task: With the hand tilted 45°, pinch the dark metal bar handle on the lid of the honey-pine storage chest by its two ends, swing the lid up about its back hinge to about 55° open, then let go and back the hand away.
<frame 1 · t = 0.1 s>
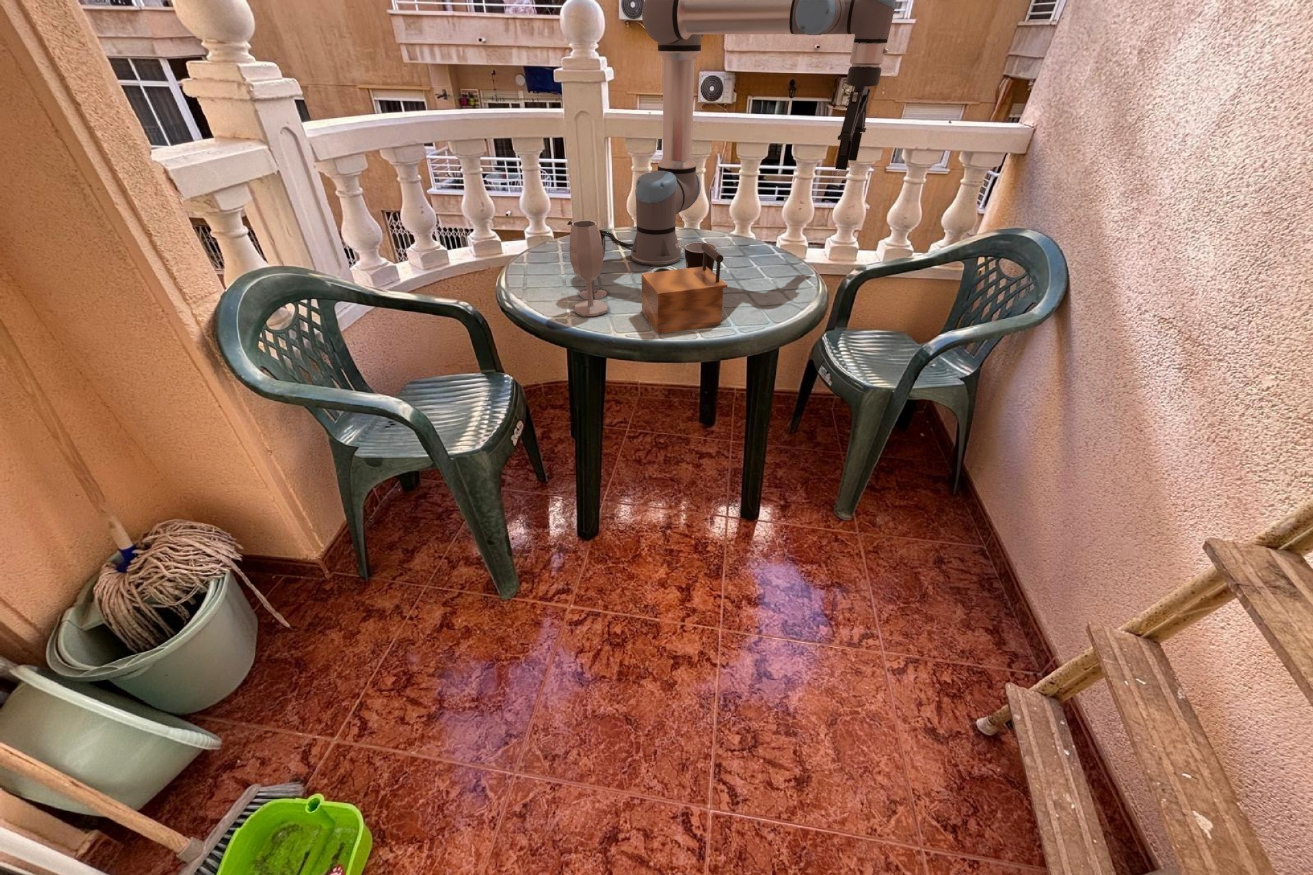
hand: (846, 164, 139), 28 cm above the table, tool pointing down, fingers open, 13 cm apart
coffee mug: (700, 282, 149), on the table
wine glass: (593, 294, 142), on the table
chest: (680, 318, 130), on the table
lid: (683, 267, 122), point 13 cm above the table, hinge at 0.0°
wineglass: (591, 310, 134), on the table
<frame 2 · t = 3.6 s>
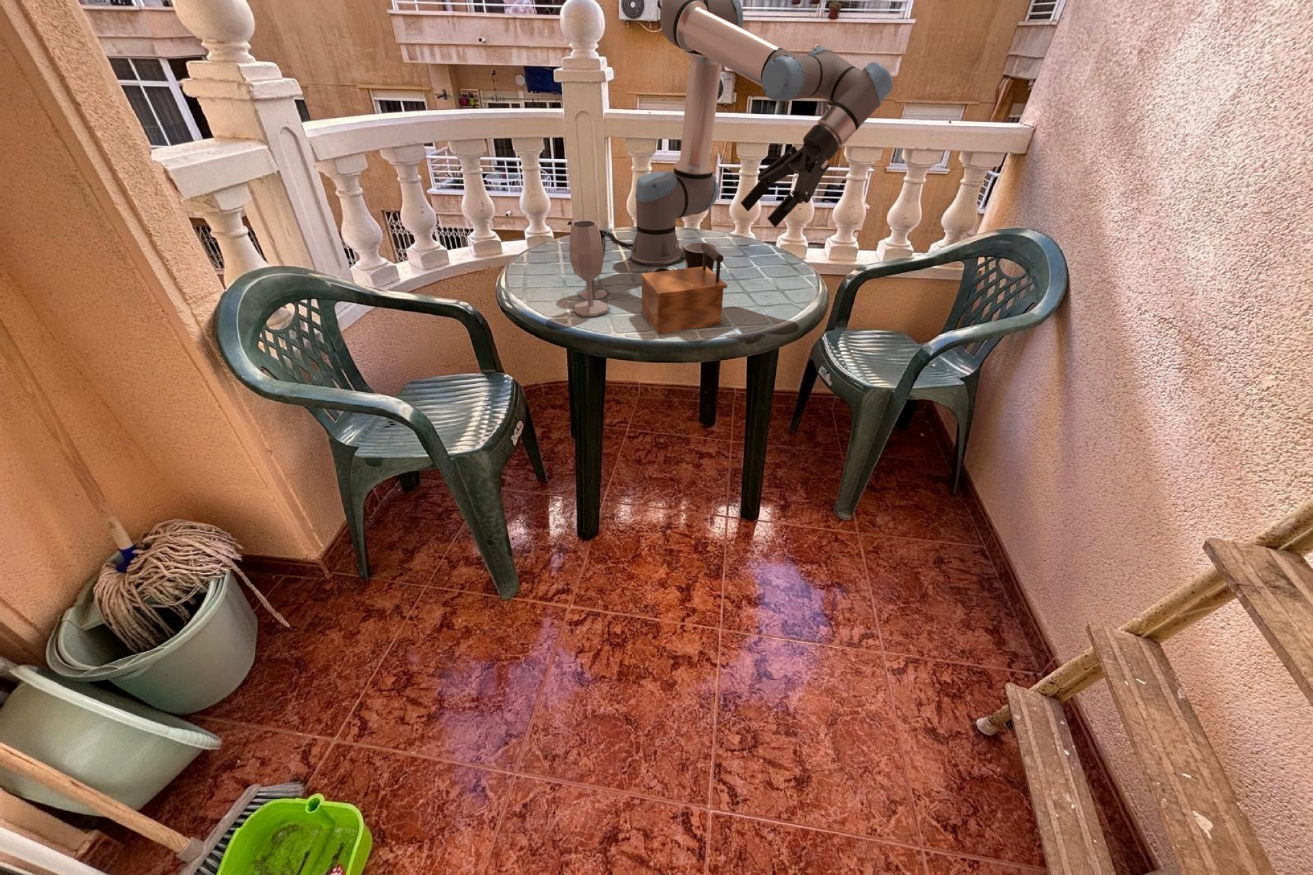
hand: (757, 215, 120), 23 cm above the table, tool tilted 45°, fingers open, 13 cm apart
nothing on the table moved.
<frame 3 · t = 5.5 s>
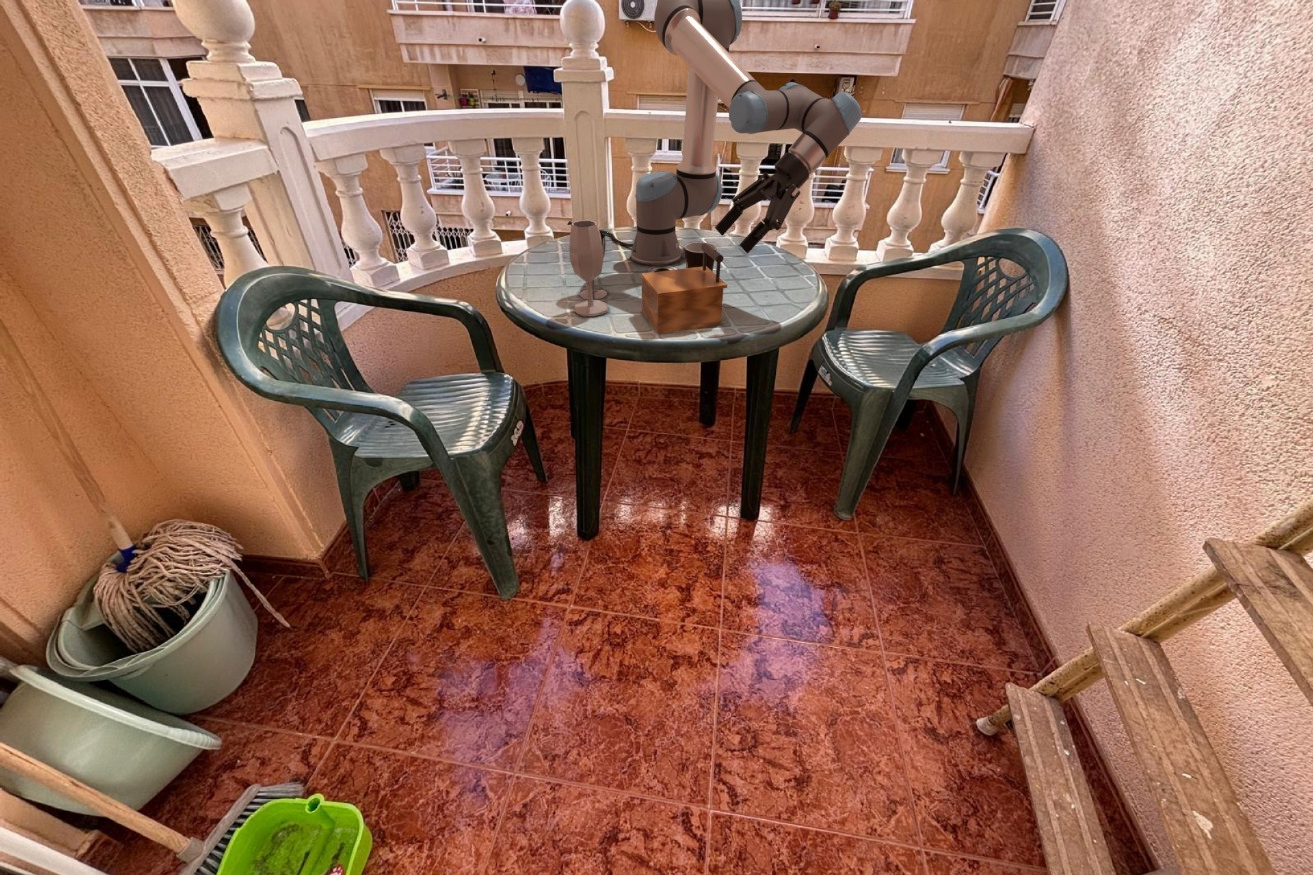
hand: (730, 240, 122), 18 cm above the table, tool tilted 45°, fingers open, 13 cm apart
nothing on the table moved.
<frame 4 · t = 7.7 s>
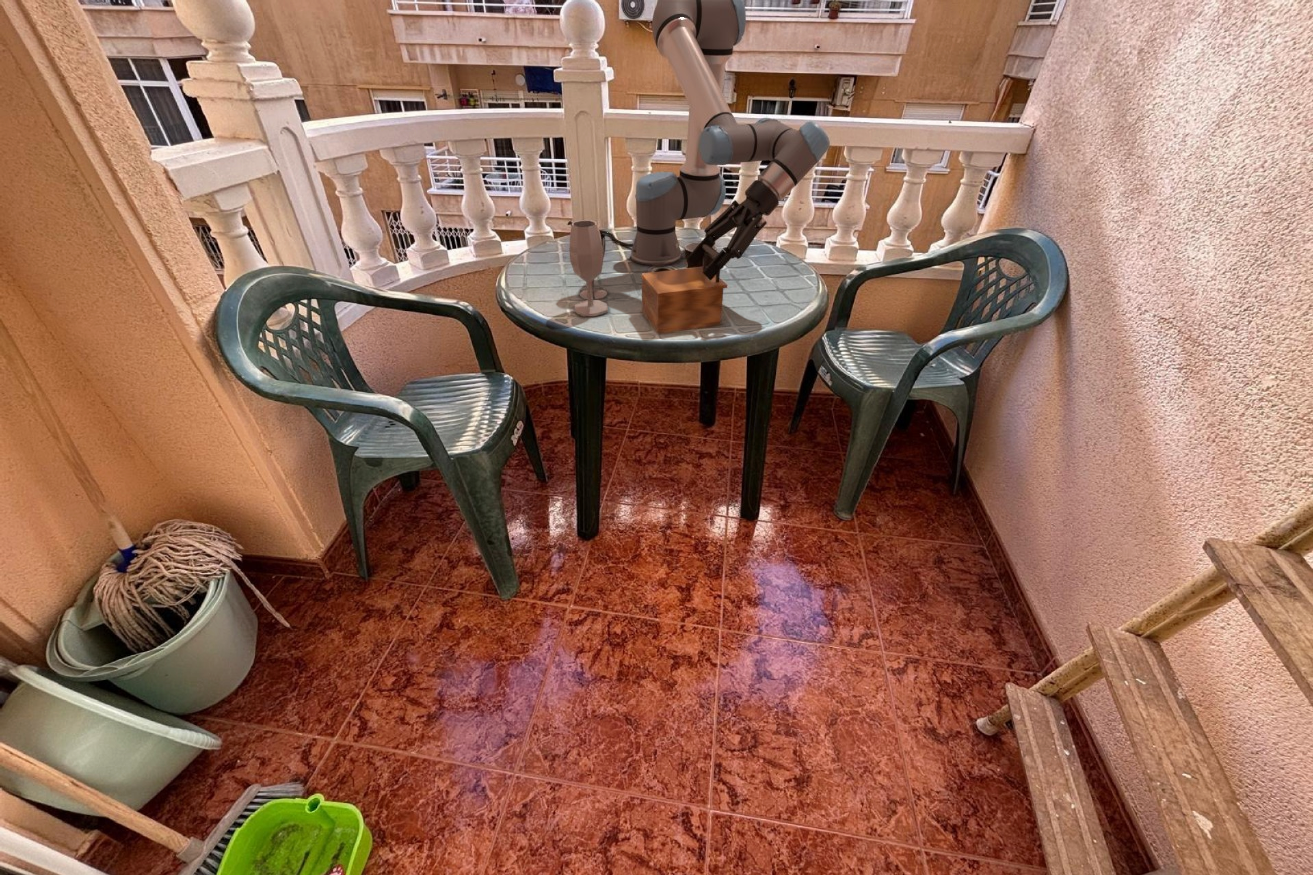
hand: (698, 269, 124), 12 cm above the table, tool tilted 45°, fingers closed on lid, 9 cm apart
lid: (683, 267, 122), point 13 cm above the table, hinge at 0.0°, touching gripper
everything else where it was.
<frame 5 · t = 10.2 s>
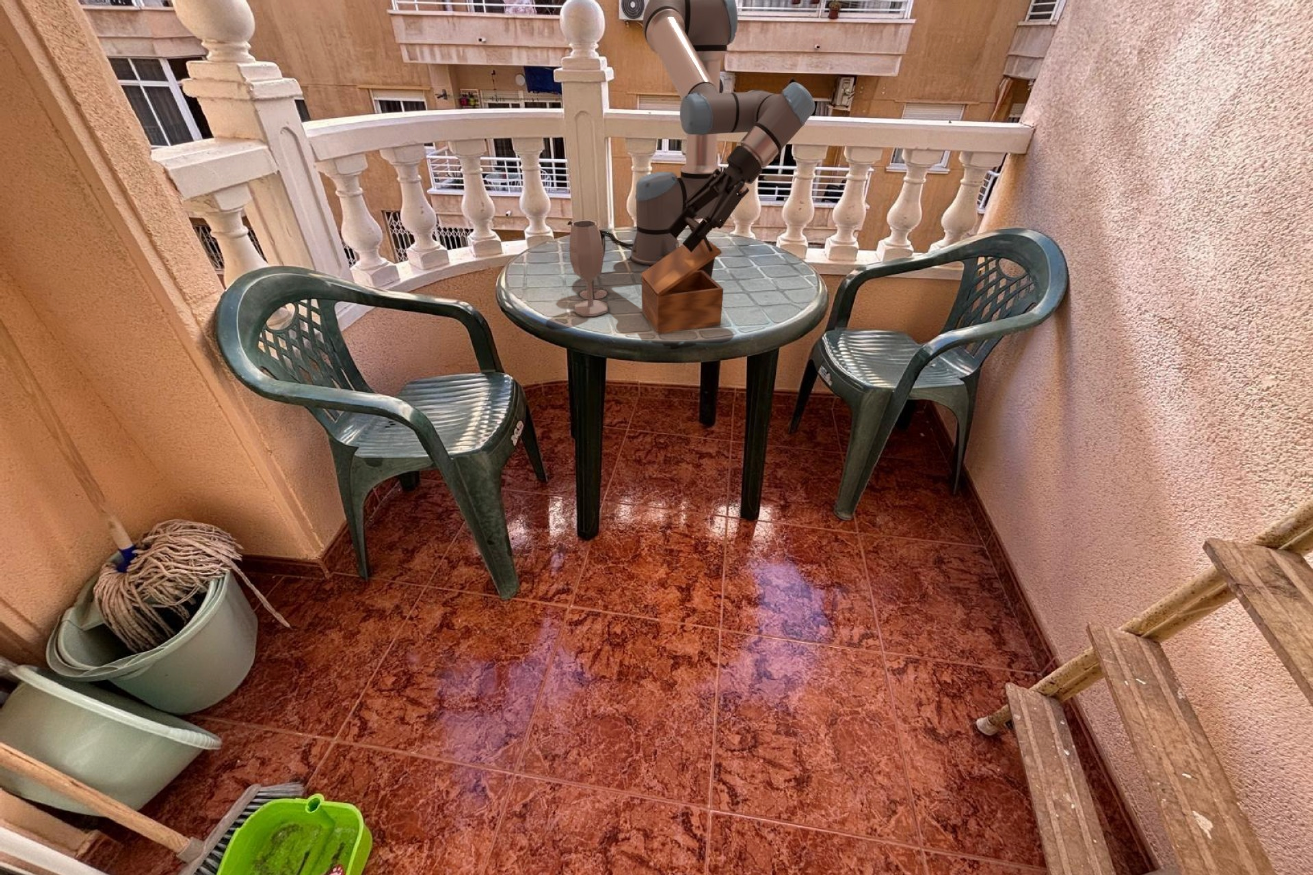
hand: (679, 241, 118), 19 cm above the table, tool tilted 45°, fingers closed on lid, 9 cm apart
lid: (673, 252, 119), point 16 cm above the table, hinge at 29.3°, touching gripper
everything else where it was.
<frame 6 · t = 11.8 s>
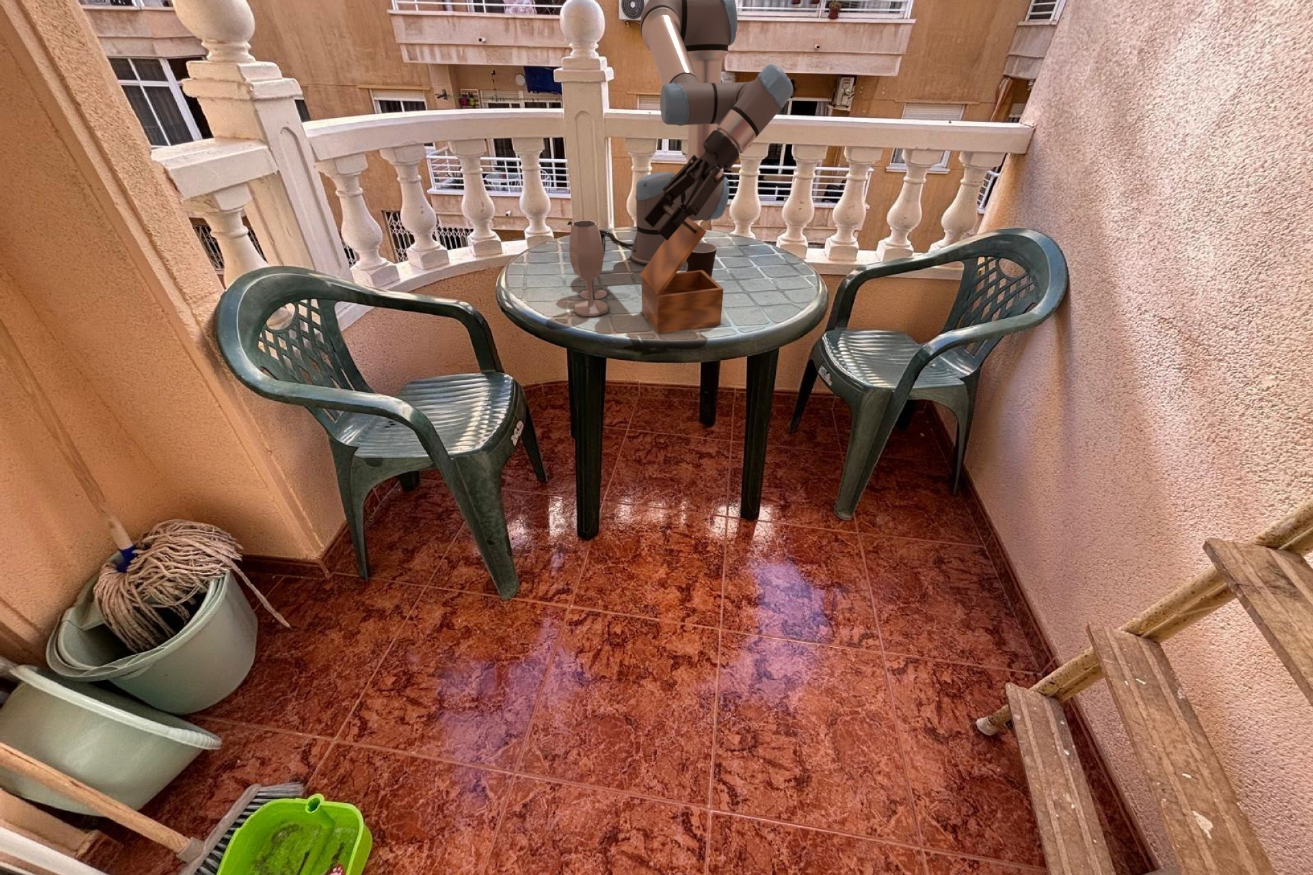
hand: (655, 229, 115), 22 cm above the table, tool tilted 45°, fingers closed on lid, 9 cm apart
lid: (661, 246, 118), point 18 cm above the table, hinge at 51.0°, touching gripper
everything else where it was.
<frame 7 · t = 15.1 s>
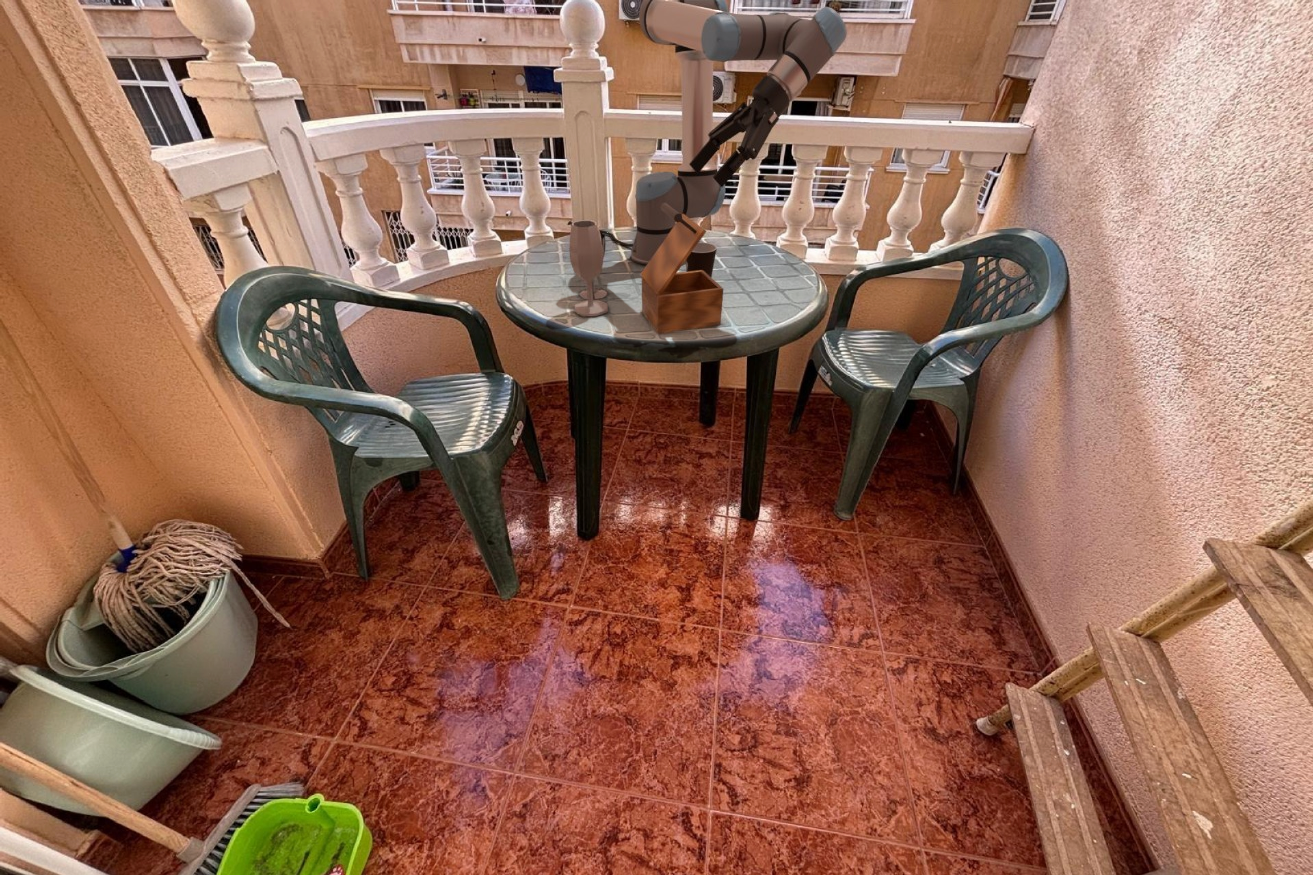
hand: (704, 175, 113), 31 cm above the table, tool tilted 45°, fingers open, 13 cm apart
lid: (661, 246, 118), point 18 cm above the table, hinge at 51.2°
everything else where it was.
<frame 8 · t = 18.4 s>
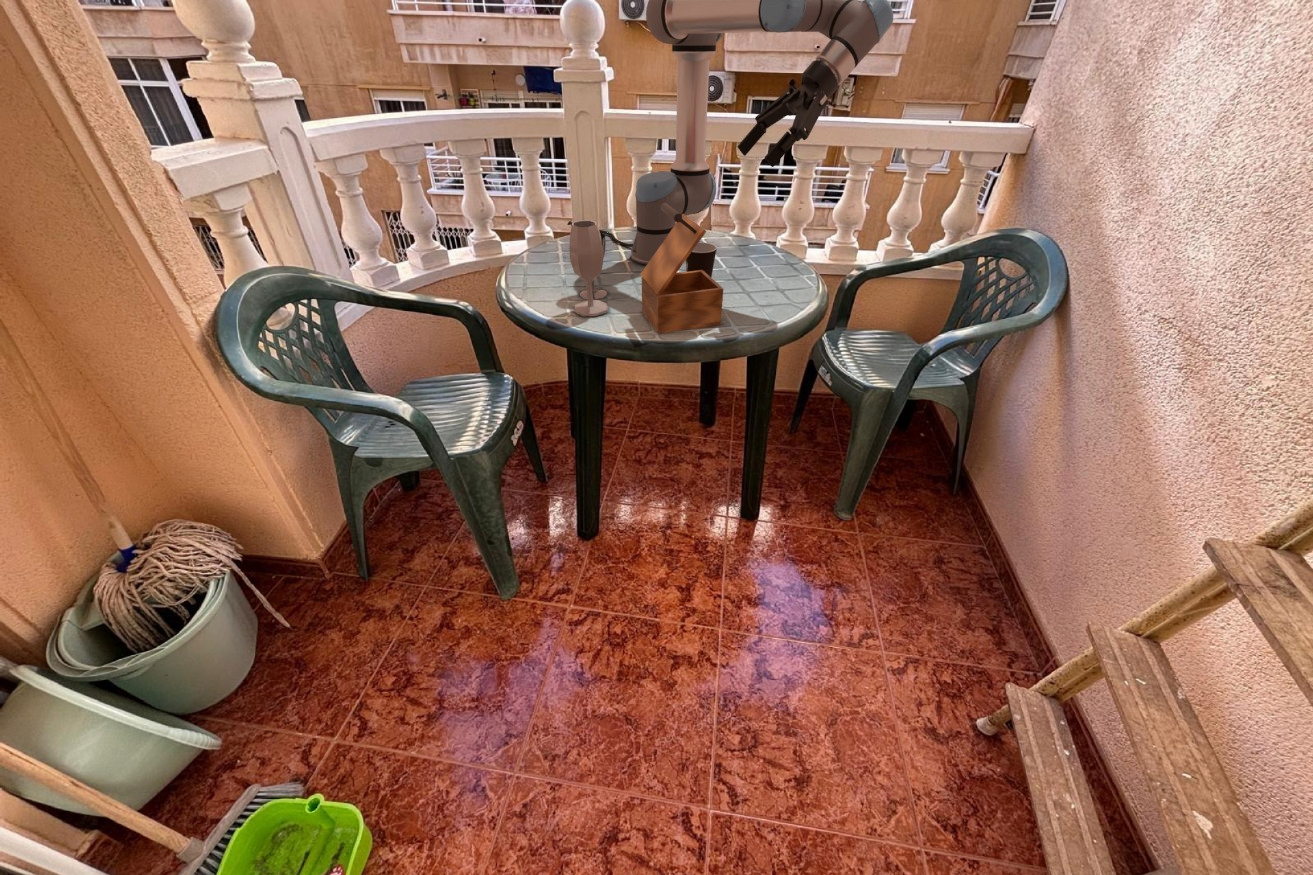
hand: (754, 156, 118), 34 cm above the table, tool tilted 45°, fingers open, 13 cm apart
nothing on the table moved.
at the end: lid at +51° (first picture: +0°); the gripper is holding nothing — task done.
